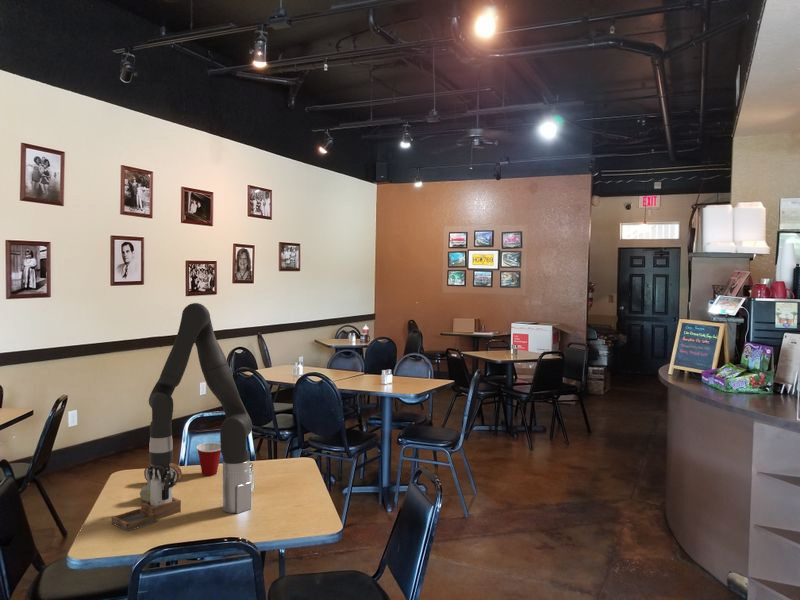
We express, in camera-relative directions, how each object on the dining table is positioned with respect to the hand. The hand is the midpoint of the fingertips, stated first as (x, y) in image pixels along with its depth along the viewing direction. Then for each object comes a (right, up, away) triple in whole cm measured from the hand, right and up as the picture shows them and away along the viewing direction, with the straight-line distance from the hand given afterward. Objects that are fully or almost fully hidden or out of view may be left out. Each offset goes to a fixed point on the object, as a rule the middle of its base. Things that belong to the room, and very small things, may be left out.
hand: (161, 497), depth 207 cm
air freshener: (-7, -5, +13) cm, 16 cm away
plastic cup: (+3, -5, +43) cm, 43 cm away
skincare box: (0, -5, 0) cm, 5 cm away
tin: (-12, -5, +30) cm, 33 cm away
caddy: (-2, -6, -3) cm, 7 cm away
